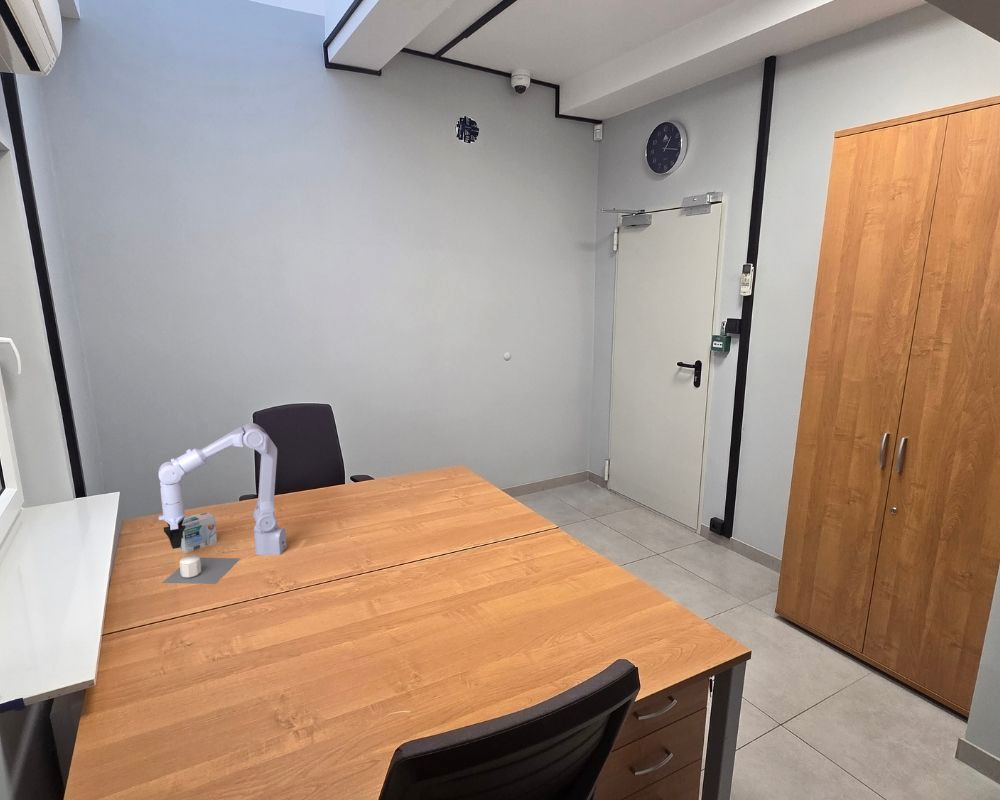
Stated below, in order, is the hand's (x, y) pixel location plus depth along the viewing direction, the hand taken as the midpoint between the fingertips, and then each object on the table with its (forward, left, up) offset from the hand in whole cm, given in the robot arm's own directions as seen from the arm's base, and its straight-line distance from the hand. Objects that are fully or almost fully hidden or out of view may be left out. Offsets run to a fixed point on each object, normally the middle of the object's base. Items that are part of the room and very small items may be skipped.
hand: (176, 542), depth 170 cm
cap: (-6, +4, -8) cm, 11 cm away
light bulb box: (+3, -16, -10) cm, 19 cm away
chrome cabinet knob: (-6, +4, -8) cm, 11 cm away
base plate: (-8, +1, -9) cm, 12 cm away
